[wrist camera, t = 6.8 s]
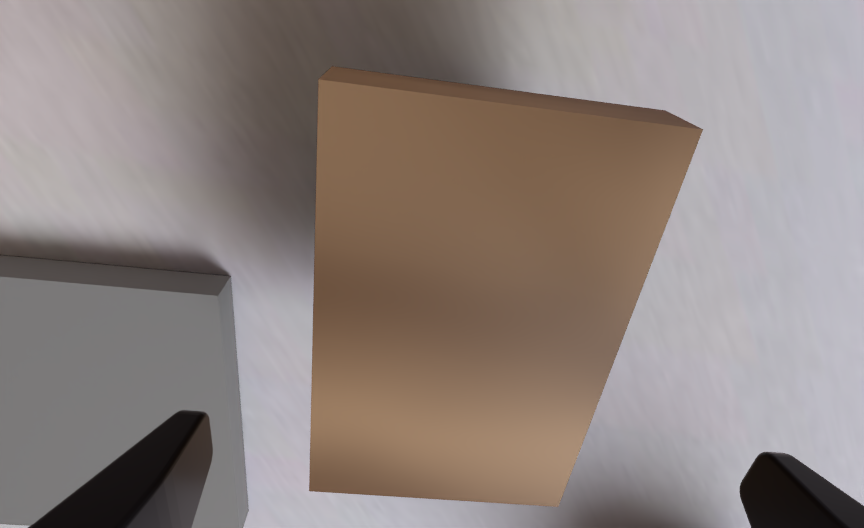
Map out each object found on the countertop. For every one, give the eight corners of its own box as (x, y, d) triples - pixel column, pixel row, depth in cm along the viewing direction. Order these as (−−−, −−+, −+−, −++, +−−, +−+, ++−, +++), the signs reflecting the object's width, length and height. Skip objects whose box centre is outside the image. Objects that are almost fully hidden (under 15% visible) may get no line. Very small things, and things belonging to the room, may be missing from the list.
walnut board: (545, 460, 15) (558, 506, 13) (319, 443, 14) (309, 490, 13) (665, 110, 10) (702, 129, 9) (332, 66, 9) (318, 79, 8)
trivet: (248, 510, 22) (240, 536, 21) (8, 497, 22) (-13, 523, 20) (230, 276, 17) (218, 295, 16) (-98, 246, 16) (-134, 264, 15)
